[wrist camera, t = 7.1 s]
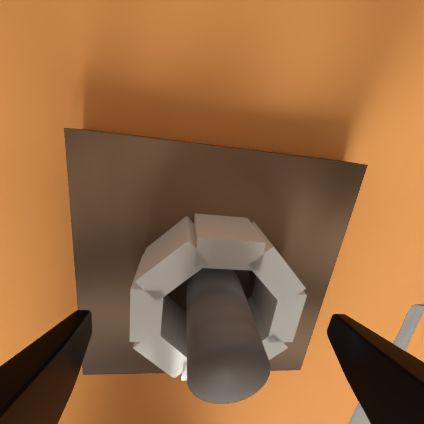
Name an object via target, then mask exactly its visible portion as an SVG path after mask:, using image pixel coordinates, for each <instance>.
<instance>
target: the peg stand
mask: <svg viewBox="0 0 424 424" xmlns="http://www.w3.org/2000/svg"><path fill="white" fill-rule="evenodd" d="M64 132H65V145H66V158H67V171H68V184H69V197H70V210H71V223H72V236H73V249H74V262H75V275H76V289H77V302H78V310H90V311H91V313H92V335H91V338H90V341H89V344H88V347H87V350H86V353H85V356H84V359H83V362H82V367H83V375H91V374H137V373H166V372H164V371H163V370H162V369H160V368H159V367H158V366H156V365H155V364H154V363H152V362H151V361H149V360H148V359H147V358H145V357H144V356H143V355H141V354H140V353H139V352H137V351H136V350H135V349H133V345H134V342H129V340H130V289H131V286H132V283H133V281H134V278H135V275H136V272H137V269H138V267H139V264H140V261H141V258H142V255H143V254H144V253H145V250H146V248H147V247H148V246H149V245H151V244H152V243H153V242H154V241H156V240H157V239H158V238H159V237H161V236H162V235H163V234H165V233H166V232H167V231H168V230H170V229H171V228H172V227H174V226H175V225H176V224H177V223H179V222H180V221H181V220H182V219H184V218H185V217H186V216H188V217H189V218H190V219H191V220H192V221H193V222H194V216H195V214H208V215H220V216H232V217H244V218H248V219H249V220H250V222H251V223H252V222H253V221H254V222H255V223H256V225H257V226H258V227H259V228H260V230H261V231H262V232H263V234H264V235H265V236H266V237H267V239H268V240H269V241H270V242H271V244H272V245H273V246H274V248H275V249H276V250H277V251H278V253H279V254H280V255H281V257H282V258H283V259H284V261H285V262H286V263H287V264H288V266H289V267H290V268H291V270H292V271H293V272H294V273H295V275H296V276H297V277H298V279H299V280H300V281H301V283H302V284H303V285H304V286H305V288H306V289H305V290H303V291H304V292H305V293H306V295H307V297H306V300H305V304H304V307H303V310H302V314H301V317H300V320H299V323H298V327H297V330H296V333H295V336H294V340H293V342H286V344H287V346H288V348H287V349H286V350H284V351H283V352H281V353H279V354H278V355H276V356H275V357H273V358H272V359H270V360H269V359H268V356H267V354H266V351H265V348H264V346H263V343H262V340H261V337H260V335H259V332H258V329H257V327H256V324H255V321H254V319H253V316H252V313H251V310H250V308H249V305H248V302H247V299H248V298H250V297H251V296H252V293H253V288H254V284H255V279H256V275H255V273H254V272H253V271H251V270H231V269H210V268H202V269H201V270H199V271H198V272H197V273H195V274H194V275H193V276H191V277H190V278H188V279H187V280H186V281H184V282H183V283H182V284H180V285H179V286H178V287H176V288H175V289H174V290H172V291H171V292H170V293H168V294H167V295H168V296H169V297H170V298H171V299H173V300H174V301H175V302H176V303H177V304H178V305H179V306H180V307H181V308H182V309H184V310H185V311H186V312H187V383H188V386H189V389H190V390H191V392H192V393H193V394H194V395H195V396H196V397H198V398H199V399H201V400H203V401H206V402H209V403H215V404H228V403H234V402H238V401H241V400H244V399H246V398H248V397H250V396H252V395H253V394H255V393H256V392H257V391H258V390H260V389H261V388H262V387H263V385H264V384H265V383H266V381H267V379H268V377H269V374H270V371H277V370H300V369H301V366H302V363H303V360H304V357H305V354H306V351H307V348H308V345H309V342H310V339H311V336H312V333H313V330H314V326H315V323H316V320H317V317H318V314H319V311H320V308H321V305H322V302H323V299H324V296H325V293H326V290H327V287H328V284H329V281H330V278H331V275H332V272H333V269H334V266H335V263H336V260H337V257H338V253H339V250H340V247H341V244H342V241H343V238H344V235H345V232H346V229H347V226H348V223H349V220H350V217H351V214H352V211H353V208H354V205H355V202H356V199H357V196H358V193H359V190H360V187H361V184H362V180H363V177H364V174H365V171H366V168H367V165H364V164H358V163H352V162H346V161H339V160H330V159H322V158H314V157H306V156H298V155H290V154H281V153H273V152H265V151H257V150H249V149H240V148H232V147H224V146H216V145H208V144H200V143H191V142H183V141H175V140H167V139H159V138H151V137H142V136H134V135H126V134H118V133H110V132H102V131H93V130H85V129H70V128H64Z"/></svg>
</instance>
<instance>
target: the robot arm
mask: <svg viewBox="0 0 424 424" xmlns="http://www.w3.org/2000/svg"><path fill="white" fill-rule="evenodd" d="M91 335H92V313H91V311H90V310H77V311H75V312H74V313H72V314H71V315H70V316H68V317H67V318H66V319H64V320H63V321H62V322H60V323H59V324H57V325H56V326H55V327H53V328H52V329H51V330H49V331H48V332H47V333H45V334H44V335H42V336H41V337H40V338H38V339H37V340H36V341H34V342H33V343H32V344H30V345H29V346H27V347H26V348H25V349H23V350H22V351H21V352H19V353H18V354H17V355H15V356H14V357H12V358H11V359H10V360H8V361H7V362H6V363H4V364H3V365H2V366H0V424H58V422H59V420H60V417H61V415H62V413H63V411H64V408H65V406H66V404H67V402H68V399H69V397H70V395H71V393H72V390H73V388H74V385H75V382H76V380H77V377H78V374H79V371H80V368H81V365H82V362H83V359H84V356H85V353H86V350H87V347H88V344H89V341H90V338H91ZM327 335H328V338H329V340H330V342H331V345H332V347H333V349H334V351H335V354H336V356H337V358H338V361H339V363H340V365H341V367H342V370H343V372H344V374H345V376H346V378H347V380H348V382H349V384H350V386H351V388H352V390H353V392H354V394H355V396H356V397H357V399H358V401H359V403H360V405H361V407H362V409H363V410H364V412H365V414H366V416H367V418H368V420H369V422H370V423H371V424H424V362H422V361H420V360H419V359H417V358H416V357H414V356H412V355H411V354H409V353H407V352H406V351H404V350H402V349H401V348H399V347H398V346H396V345H394V344H393V343H391V342H389V341H388V340H386V339H384V338H383V337H381V336H379V335H378V334H376V333H375V332H373V331H371V330H370V329H368V328H366V327H365V326H363V325H361V324H360V323H358V322H356V321H355V320H353V319H352V318H350V317H348V316H347V315H345V314H334V315H333V316H332V318H331V321H330V323H329V326H328V329H327Z"/></svg>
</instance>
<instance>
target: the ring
mask: <svg viewBox="0 0 424 424" xmlns="http://www.w3.org/2000/svg"><path fill="white" fill-rule="evenodd" d="M202 268H210V269H231V270H251V271H253V272H254V273H255V275H256V279H255V284H254V288H253V293H252V296H251V297H250V298H248V299H247V302H248V305H249V308H250V310H251V313H252V316H253V319H254V321H255V324H256V327H257V329H258V332H259V335H260V337H261V340H262V343H263V346H264V348H265V351H266V354H267V356H268V359H269V360H270V359H272V358H273V357H275V356H276V355H278V354H279V353H281V352H283V351H284V350H286V349H287V348H288V346H287V344H286V342H293V340H294V336H295V333H296V330H297V327H298V323H299V320H300V317H301V314H302V310H303V307H304V304H305V300H306V297H307V295H306V293H305V292H304V291H303V290H305V289H306V288H305V286H304V285H303V284H302V283H301V281H300V280H299V279H298V277H297V276H296V275H295V273H294V272H293V271H292V270H291V268H290V267H289V266H288V264H287V263H286V262H285V261H284V259H283V258H282V257H281V255H280V254H279V253H278V251H277V250H276V249H275V248H274V246H273V245H272V244H271V242H270V241H269V240H268V239H267V237H266V236H265V235H264V234H263V232H262V231H261V230H260V228H259V227H258V226H257V225H256V223H255V222H254V221H253V222H252V223H251V222H250V220H249V219H248V218H244V217H232V216H220V215H208V214H195V216H194V222H193V221H192V220H191V219H190V218H189V217H188V216H186V217H185V218H184V219H182V220H181V221H180V222H179V223H177V224H176V225H175V226H174V227H172V228H171V229H170V230H168V231H167V232H166V233H165V234H163V235H162V236H161V237H159V238H158V239H157V240H156V241H154V242H153V243H152V244H151V245H149V246H148V247H147V248H146V250H145V253H144V254H143V255H142V258H141V261H140V264H139V267H138V269H137V272H136V275H135V278H134V281H133V283H132V286H131V289H130V340H129V342H134V345H133V349H135V350H136V351H137V352H139V353H140V354H141V355H143V356H144V357H145V358H147V359H148V360H149V361H151V362H152V363H154V364H155V365H156V366H158V367H159V368H160V369H162V370H163V371H164V372H166V373H167V374H168V375H170V376H171V377H172V378H175V377H177V376H178V375H180V374H181V381H187V312H186V311H185V310H184V309H182V308H181V307H180V306H179V305H178V304H177V303H176V302H175V301H174V300H173V299H171V298H170V297H169V296H168V295H167V294H168V293H170V292H171V291H172V290H174V289H175V288H176V287H178V286H179V285H180V284H182V283H183V282H184V281H186V280H187V279H188V278H190V277H191V276H193V275H194V274H195V273H197V272H198V271H199V270H201V269H202Z"/></svg>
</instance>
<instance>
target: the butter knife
mask: <svg viewBox="0 0 424 424" xmlns="http://www.w3.org/2000/svg"><path fill="white" fill-rule="evenodd" d="M423 311H424V305H412V307H411V308H410V310H409V312H408V313H407V315H406V318H405V320H404V323H403V325H402V327H401V329H400V331H399V333H398V335H397V337H396V339H395V341H394V343H393V344H394V345H396V346H398V347H399V348H401V349H402V350H404V351H406V348H407V346H408V344H409V342H410V339H411V337H412V335H413V333H414V331H415V328H416V326H417V324H418V322H419V320H420V318H421V316H422V314H423ZM349 424H371V423H370V422H369V420H368V418H367V416H366V414H365V412H364V410H363V409H362V407H361V405H360V403H358V405H357V407H356V409H355V411H354V413H353V415H352V417H351V419H350V421H349Z"/></svg>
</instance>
